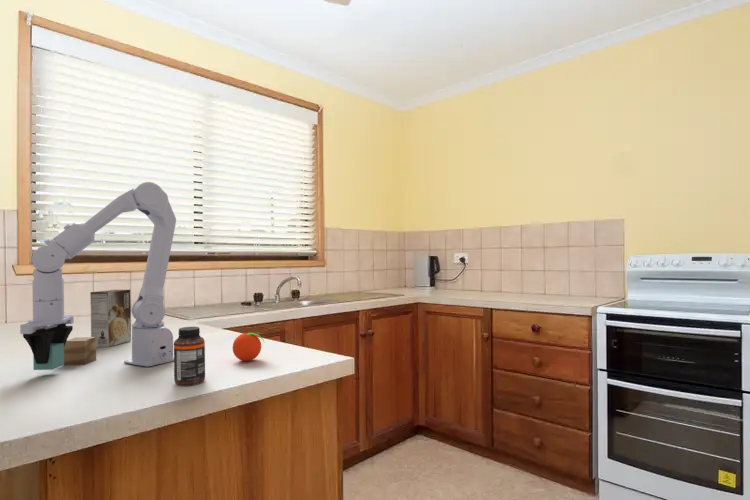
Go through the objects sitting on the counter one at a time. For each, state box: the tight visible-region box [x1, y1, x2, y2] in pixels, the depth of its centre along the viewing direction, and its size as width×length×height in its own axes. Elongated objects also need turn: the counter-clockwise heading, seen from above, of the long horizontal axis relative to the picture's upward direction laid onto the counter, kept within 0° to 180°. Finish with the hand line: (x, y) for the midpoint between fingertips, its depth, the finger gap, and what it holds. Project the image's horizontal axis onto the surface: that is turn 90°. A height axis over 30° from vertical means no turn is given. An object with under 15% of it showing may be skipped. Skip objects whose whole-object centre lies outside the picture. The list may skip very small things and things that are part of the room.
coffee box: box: [90, 289, 132, 348], centre depth 137 cm, size 9×6×16 cm
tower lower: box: [63, 348, 97, 366], centre depth 113 cm, size 5×5×3 cm
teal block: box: [32, 343, 65, 371], centre depth 101 cm, size 4×4×5 cm
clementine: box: [232, 331, 265, 362], centre depth 113 cm, size 8×7×7 cm
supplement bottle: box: [173, 326, 206, 387], centre depth 94 cm, size 6×6×11 cm
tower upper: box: [64, 336, 97, 353], centre depth 113 cm, size 5×5×3 cm
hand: (49, 361), depth 101 cm, fingers closed on teal block, 4 cm apart
